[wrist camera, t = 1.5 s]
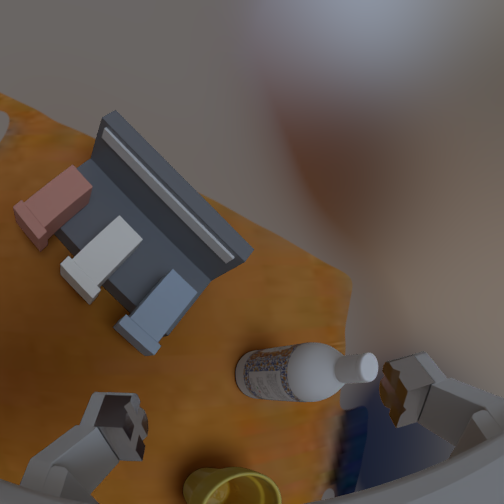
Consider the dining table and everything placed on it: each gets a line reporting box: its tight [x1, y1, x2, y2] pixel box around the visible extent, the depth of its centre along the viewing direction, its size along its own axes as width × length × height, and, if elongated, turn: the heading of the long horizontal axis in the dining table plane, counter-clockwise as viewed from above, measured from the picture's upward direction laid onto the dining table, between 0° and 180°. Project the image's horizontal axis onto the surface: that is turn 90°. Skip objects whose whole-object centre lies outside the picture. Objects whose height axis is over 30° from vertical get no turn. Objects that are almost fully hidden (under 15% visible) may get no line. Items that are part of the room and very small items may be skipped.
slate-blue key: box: [113, 269, 197, 356], centre depth 33 cm, size 8×5×4 cm, turn 145°
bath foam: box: [236, 343, 378, 402], centre depth 36 cm, size 7×7×20 cm
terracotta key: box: [13, 165, 93, 252], centre depth 30 cm, size 8×5×4 cm, turn 145°
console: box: [54, 110, 254, 337], centre depth 34 cm, size 11×22×12 cm, turn 55°
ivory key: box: [60, 215, 143, 305], centre depth 31 cm, size 8×5×4 cm, turn 145°
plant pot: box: [183, 467, 281, 504], centre depth 30 cm, size 10×10×10 cm
